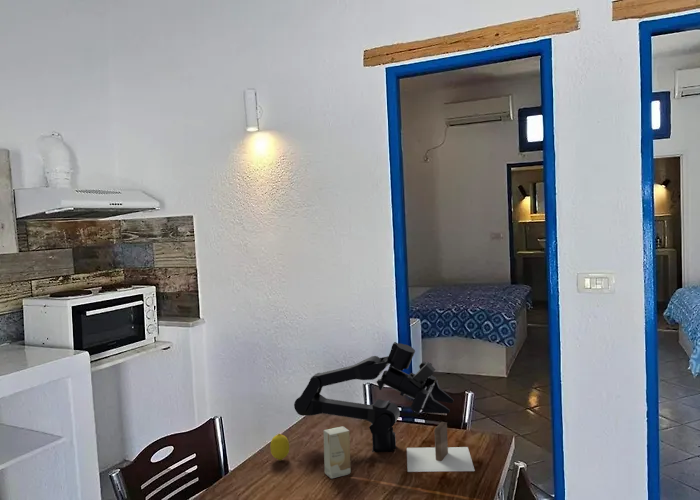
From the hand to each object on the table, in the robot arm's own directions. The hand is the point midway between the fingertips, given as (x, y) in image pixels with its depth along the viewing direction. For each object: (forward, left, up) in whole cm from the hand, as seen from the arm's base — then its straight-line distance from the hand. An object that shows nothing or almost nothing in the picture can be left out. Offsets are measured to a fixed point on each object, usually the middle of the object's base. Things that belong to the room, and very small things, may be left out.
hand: (451, 406), depth 165 cm
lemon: (-50, -3, -14) cm, 52 cm away
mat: (-4, -4, -14) cm, 15 cm away
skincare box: (-32, -12, -14) cm, 37 cm away
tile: (-3, -3, -14) cm, 14 cm away
